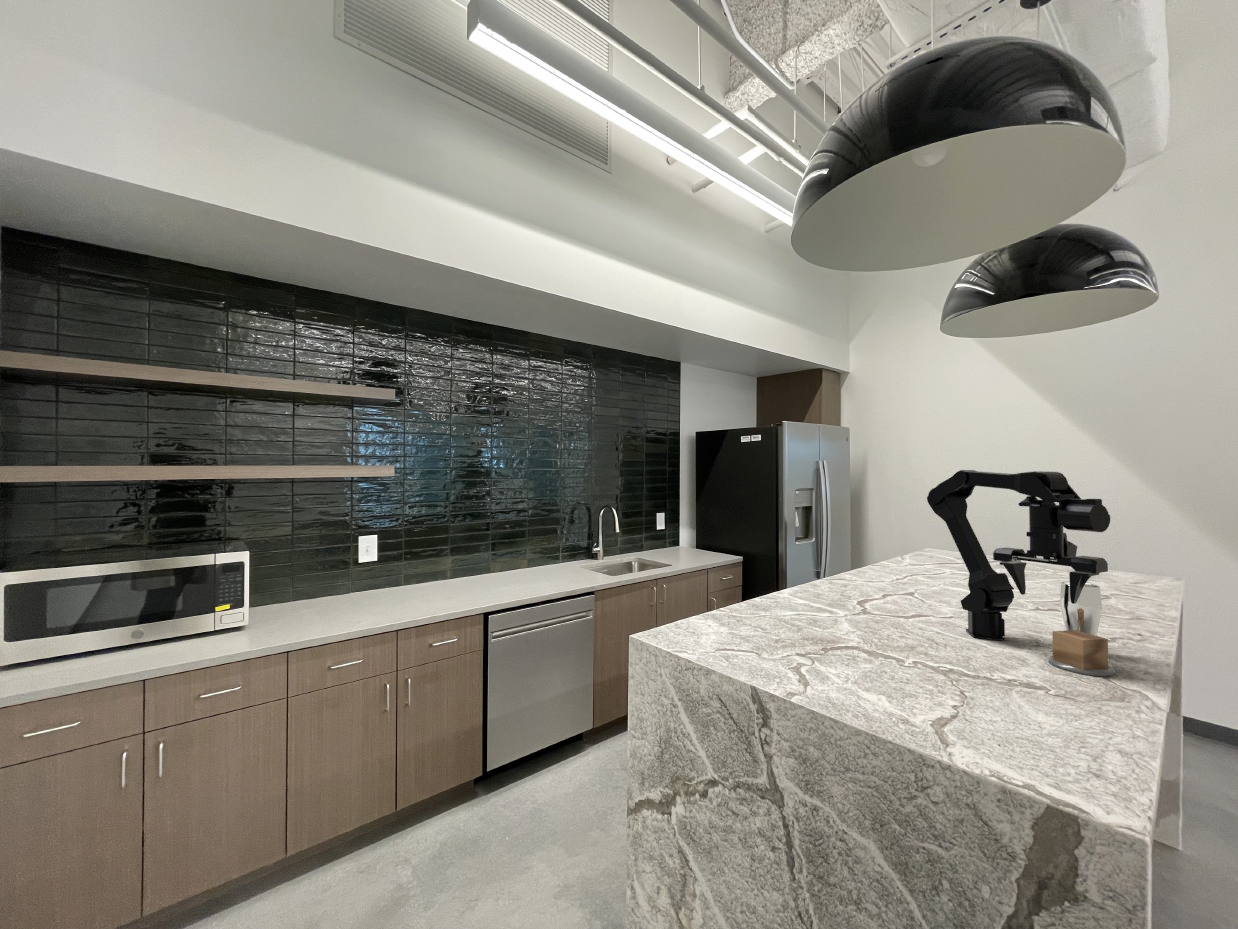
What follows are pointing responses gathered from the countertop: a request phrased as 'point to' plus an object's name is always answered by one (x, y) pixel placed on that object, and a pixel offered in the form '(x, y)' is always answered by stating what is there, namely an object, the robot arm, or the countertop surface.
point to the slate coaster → (1097, 673)
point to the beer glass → (1081, 608)
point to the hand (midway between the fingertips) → (1047, 598)
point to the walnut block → (1080, 650)
